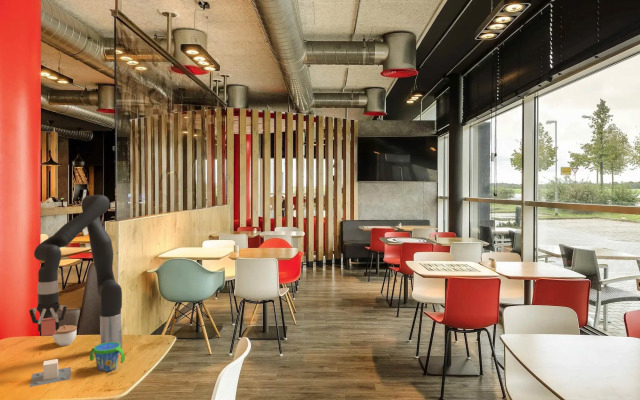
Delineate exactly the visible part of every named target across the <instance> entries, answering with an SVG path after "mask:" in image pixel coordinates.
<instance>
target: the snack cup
mask: <svg viewBox="0 0 640 400" xmlns="http://www.w3.org/2000/svg"><path fill="white" fill-rule="evenodd" d="M119 355H120V356H121V357H120V356H119ZM119 357H120V364H123V363H124V362H125V360H126V356H125V352H124V350H123V347H122V348H120V343H117V342H107V343H102V344H101V343H99V344H97V345H95V346H94V347H93V348H91V350H90V353H89V360H90V361H91V362H93V361H94V360H95V363H96V367H97V370H98V371H100V372H101V371H103V372H104V371H105V373H108V372H112V371H115V370H116V369H117V368H118V361H119Z"/></svg>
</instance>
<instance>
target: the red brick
mask: <svg viewBox="0 0 640 400" xmlns="http://www.w3.org/2000/svg"><path fill="white" fill-rule="evenodd" d="M55 322H56V321H55V319H54V317H47V318H43V319H42V321H41V333H40V335H41V337H45V336H53V335H55V334H56V331H55Z"/></svg>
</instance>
